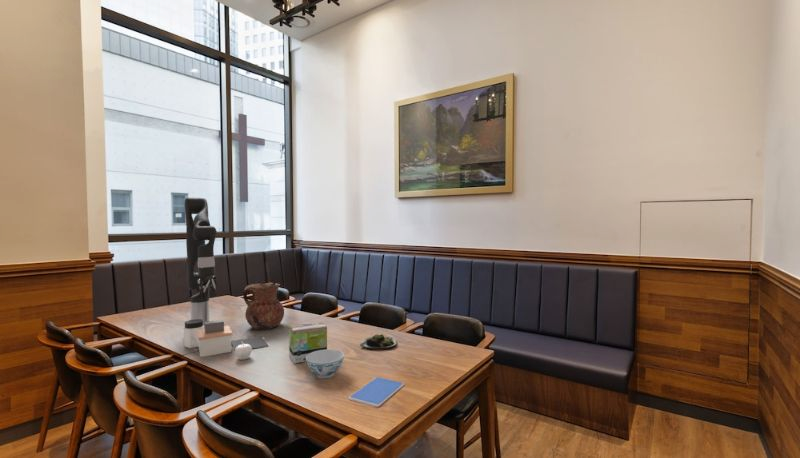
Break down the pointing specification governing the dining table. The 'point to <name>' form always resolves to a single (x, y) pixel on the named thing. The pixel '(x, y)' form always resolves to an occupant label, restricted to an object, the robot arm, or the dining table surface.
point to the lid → (214, 330)
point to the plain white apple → (243, 351)
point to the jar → (192, 332)
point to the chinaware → (325, 362)
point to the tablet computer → (376, 391)
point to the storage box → (215, 346)
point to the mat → (251, 342)
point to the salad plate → (378, 343)
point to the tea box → (306, 340)
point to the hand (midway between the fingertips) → (208, 298)
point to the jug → (263, 306)
